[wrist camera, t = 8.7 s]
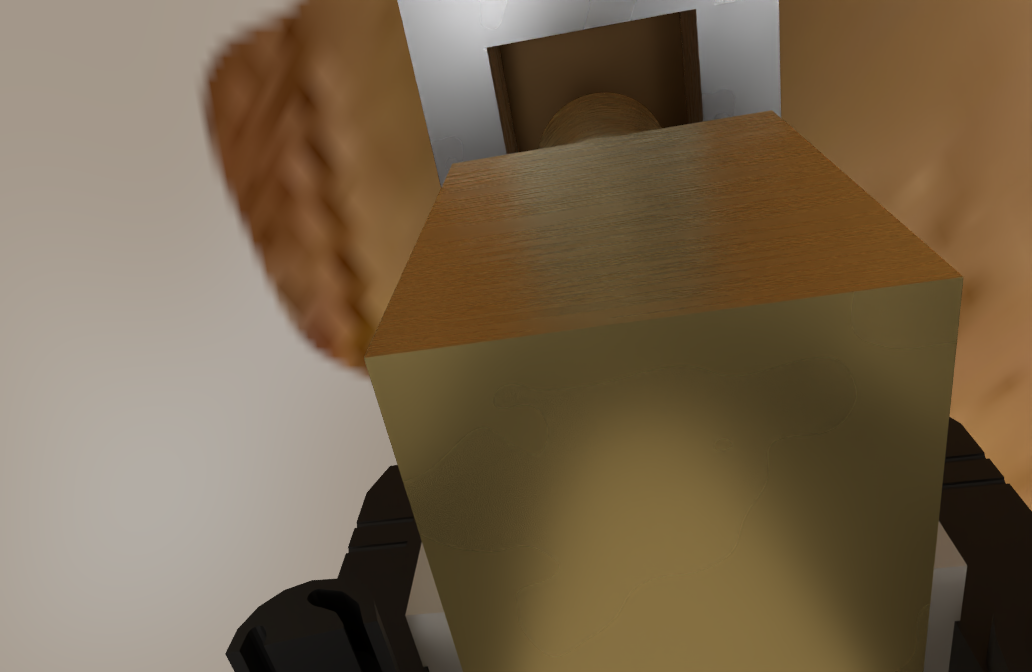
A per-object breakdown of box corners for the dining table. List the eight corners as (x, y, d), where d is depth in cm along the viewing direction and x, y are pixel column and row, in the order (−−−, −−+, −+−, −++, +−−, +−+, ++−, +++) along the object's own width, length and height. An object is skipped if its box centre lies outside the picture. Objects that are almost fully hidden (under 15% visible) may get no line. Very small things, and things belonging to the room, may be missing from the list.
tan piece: (498, 63, 14) (363, 357, 4) (679, 30, 13) (964, 277, 4) (571, 464, 18) (582, 1053, 8) (711, 448, 17) (884, 1050, 8)
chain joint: (318, -470, 13) (268, -549, 11) (730, -589, 12) (766, -699, 10) (542, 551, 24) (541, 614, 22) (768, 530, 23) (789, 593, 21)
